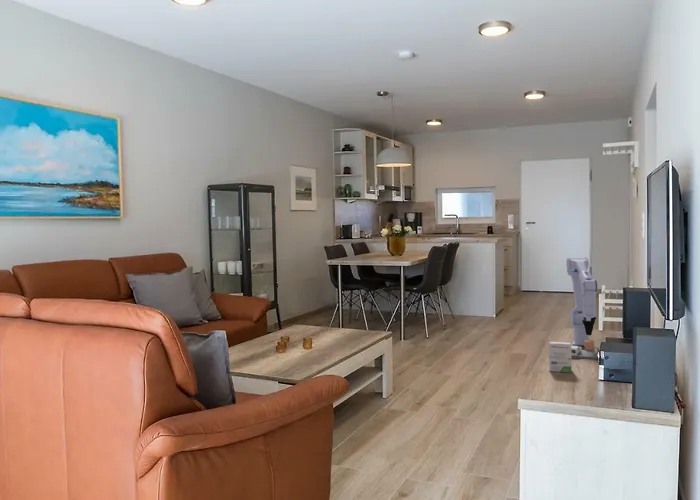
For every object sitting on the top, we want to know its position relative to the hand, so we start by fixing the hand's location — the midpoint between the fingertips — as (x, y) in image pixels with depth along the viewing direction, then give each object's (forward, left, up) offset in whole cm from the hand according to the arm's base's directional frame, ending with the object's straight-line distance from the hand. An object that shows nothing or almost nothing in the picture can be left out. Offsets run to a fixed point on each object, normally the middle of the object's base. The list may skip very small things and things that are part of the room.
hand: (589, 333), depth 276 cm
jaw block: (0, 0, -8) cm, 9 cm away
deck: (+9, -3, -8) cm, 13 cm away
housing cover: (+12, -7, -7) cm, 15 cm away
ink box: (+41, -9, -9) cm, 43 cm away
